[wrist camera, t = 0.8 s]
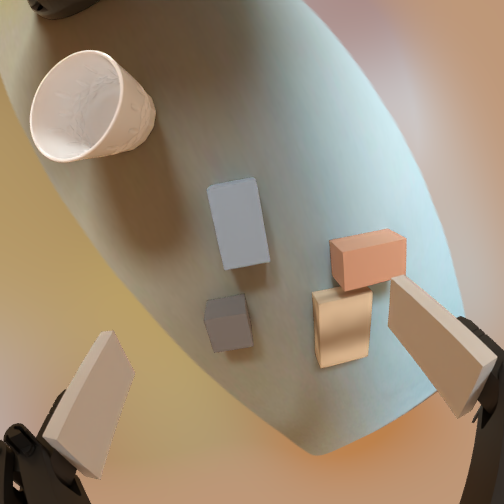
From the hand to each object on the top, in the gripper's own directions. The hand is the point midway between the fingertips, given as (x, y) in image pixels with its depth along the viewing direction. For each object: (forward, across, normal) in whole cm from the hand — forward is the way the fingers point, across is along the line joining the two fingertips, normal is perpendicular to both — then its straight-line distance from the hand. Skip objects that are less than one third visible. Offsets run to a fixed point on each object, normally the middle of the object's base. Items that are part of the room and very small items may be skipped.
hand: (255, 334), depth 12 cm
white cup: (+16, -9, +14) cm, 23 cm away
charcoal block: (+16, -3, -8) cm, 18 cm away
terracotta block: (+16, +12, -4) cm, 21 cm away
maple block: (+16, +9, -12) cm, 22 cm away
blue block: (+16, 0, +2) cm, 16 cm away
